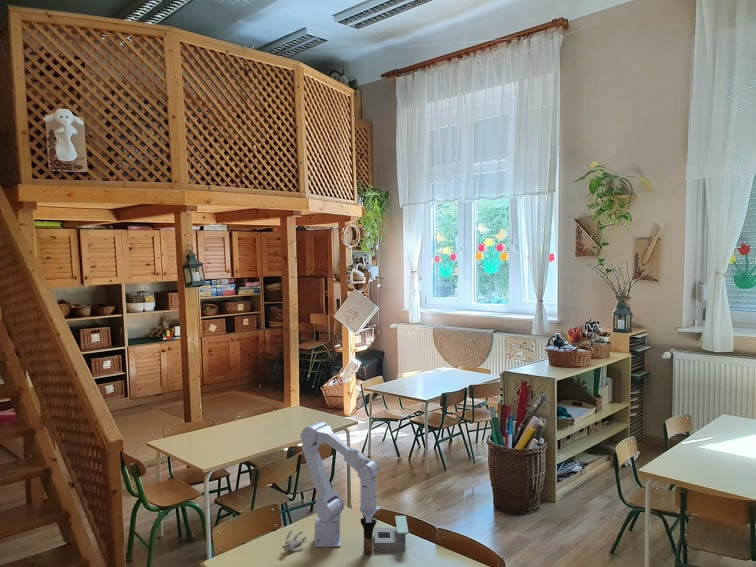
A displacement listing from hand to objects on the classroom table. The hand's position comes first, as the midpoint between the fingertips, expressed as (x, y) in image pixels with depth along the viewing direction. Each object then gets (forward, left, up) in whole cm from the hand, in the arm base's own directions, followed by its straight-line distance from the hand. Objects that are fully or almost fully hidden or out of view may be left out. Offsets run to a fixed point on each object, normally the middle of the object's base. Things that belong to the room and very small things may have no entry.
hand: (368, 533), depth 196 cm
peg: (0, 0, -7) cm, 7 cm away
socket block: (+8, +7, -7) cm, 13 cm away
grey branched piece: (-27, +5, -8) cm, 28 cm away
